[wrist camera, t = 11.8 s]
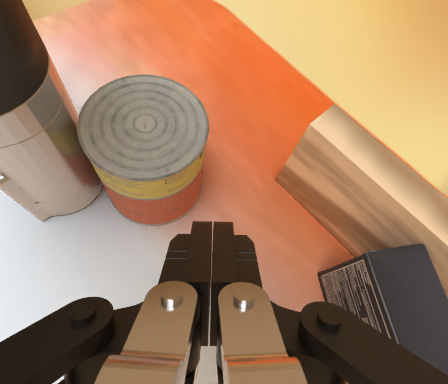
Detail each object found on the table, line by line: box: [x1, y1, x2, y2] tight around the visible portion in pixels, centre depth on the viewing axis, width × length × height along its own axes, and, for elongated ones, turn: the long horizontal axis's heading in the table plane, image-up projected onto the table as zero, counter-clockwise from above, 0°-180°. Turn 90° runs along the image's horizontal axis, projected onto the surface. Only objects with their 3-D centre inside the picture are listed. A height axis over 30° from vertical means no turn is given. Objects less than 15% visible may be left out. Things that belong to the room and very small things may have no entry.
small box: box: [318, 244, 448, 376], centre depth 30 cm, size 11×6×10 cm, turn 10°
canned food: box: [77, 75, 209, 226], centre depth 32 cm, size 11×11×12 cm
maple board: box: [275, 104, 448, 298], centre depth 33 cm, size 4×22×12 cm, turn 43°
